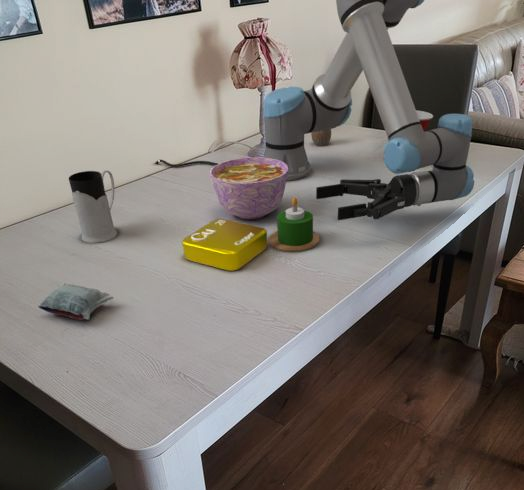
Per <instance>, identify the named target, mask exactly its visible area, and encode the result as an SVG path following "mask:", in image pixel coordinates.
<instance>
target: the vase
mask: <svg viewBox="0 0 524 490" xmlns="http://www.w3.org/2000/svg"><path fill="white" fill-rule="evenodd" d="M310 134H311V140H312V142H313V144H314V145H315V146H319V147H323V146H324V147H325V146H327V145H328V144H329V143H330V141H331V139H332V129H326V130H321V131H316V132H312V133H310Z"/></svg>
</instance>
